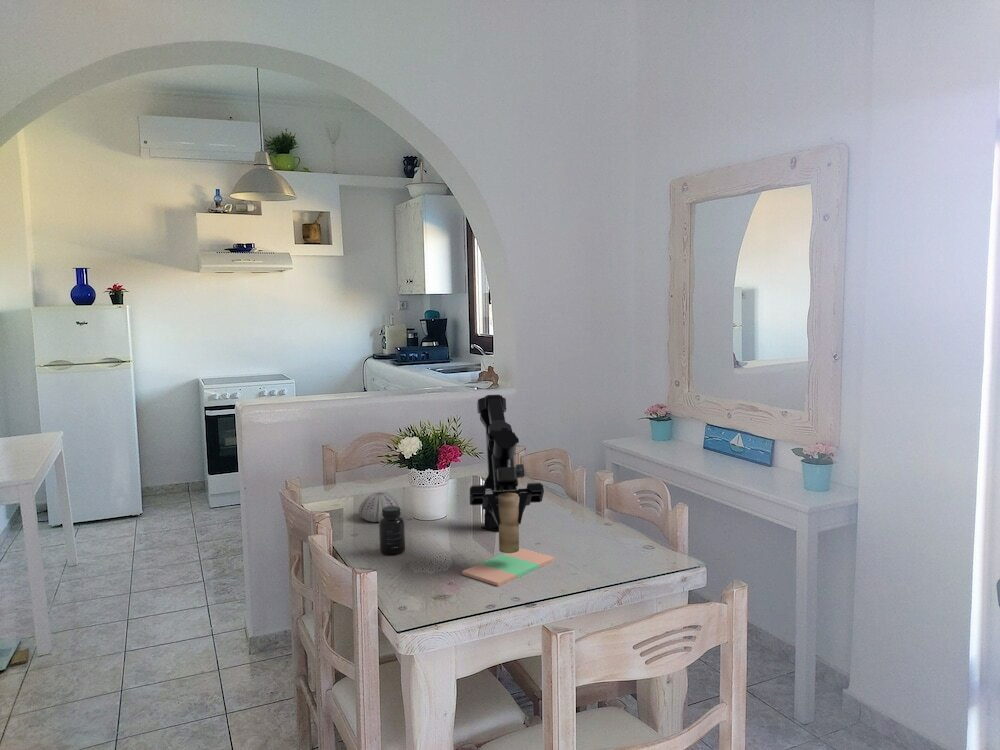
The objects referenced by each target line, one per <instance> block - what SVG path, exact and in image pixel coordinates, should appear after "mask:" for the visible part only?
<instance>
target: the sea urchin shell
mask: <svg viewBox="0 0 1000 750" xmlns="http://www.w3.org/2000/svg"><path fill="white" fill-rule="evenodd" d="M401 505H402V504H401V503H400V502H399V500H397V497H395V496H394V495H392V494H390V493H388V492H386V491H378V492H373V493H371V494H369V495H368V496H367V497H366V498H365V499H363V501H362V502H361V503H360V505H359V508H358V514H359V516H360V517H361V519H363V520H366V521H368V522H371V523H376V522H378V523H379V521H380V519H381V518H383V516H382V509H383V508H384V507H388V506H397V507H400V512H401V513H402V506H401Z"/></svg>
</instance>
